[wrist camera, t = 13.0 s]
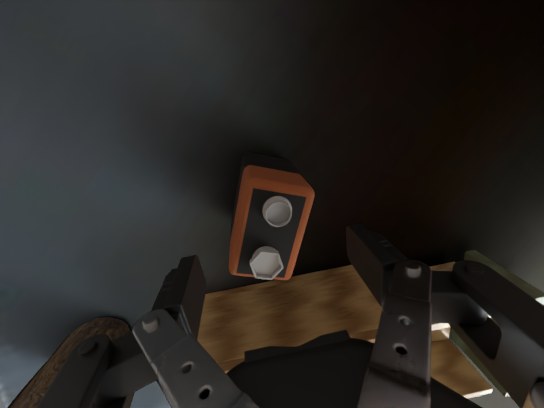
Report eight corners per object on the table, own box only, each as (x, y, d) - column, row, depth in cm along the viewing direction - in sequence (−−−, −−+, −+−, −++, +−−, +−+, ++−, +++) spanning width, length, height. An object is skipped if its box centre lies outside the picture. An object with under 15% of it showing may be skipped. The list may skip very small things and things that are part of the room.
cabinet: (361, 262, 29) (413, 330, 20) (363, 352, 34) (404, 436, 26) (186, 297, 28) (162, 385, 19) (217, 385, 33) (209, 483, 25)
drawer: (527, 239, 29) (615, 280, 22) (503, 325, 34) (570, 381, 27) (315, 282, 28) (339, 340, 21) (323, 365, 33) (346, 434, 26)
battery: (231, 218, 25) (226, 286, 16) (243, 149, 23) (245, 181, 13) (274, 224, 26) (294, 293, 16) (290, 158, 23) (323, 195, 14)
